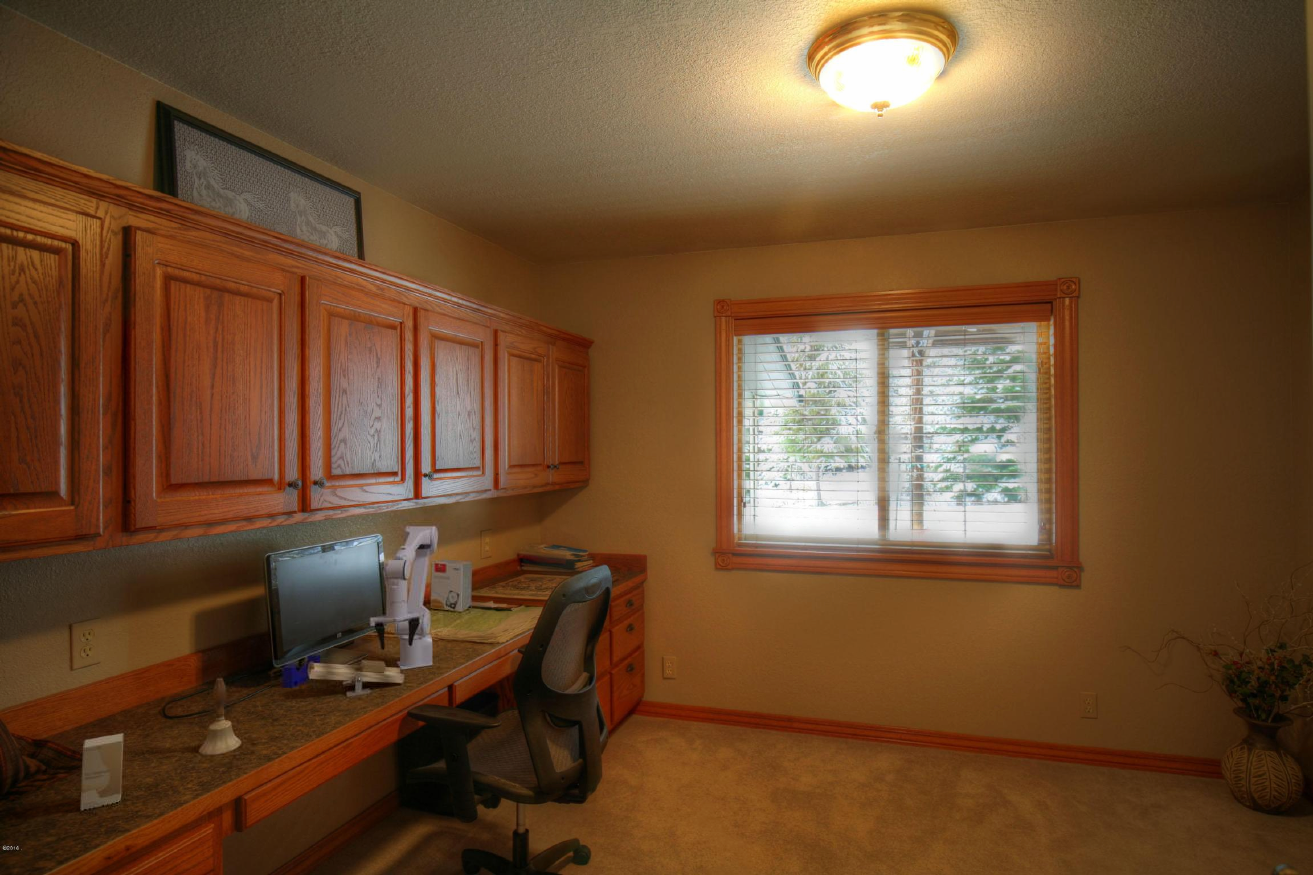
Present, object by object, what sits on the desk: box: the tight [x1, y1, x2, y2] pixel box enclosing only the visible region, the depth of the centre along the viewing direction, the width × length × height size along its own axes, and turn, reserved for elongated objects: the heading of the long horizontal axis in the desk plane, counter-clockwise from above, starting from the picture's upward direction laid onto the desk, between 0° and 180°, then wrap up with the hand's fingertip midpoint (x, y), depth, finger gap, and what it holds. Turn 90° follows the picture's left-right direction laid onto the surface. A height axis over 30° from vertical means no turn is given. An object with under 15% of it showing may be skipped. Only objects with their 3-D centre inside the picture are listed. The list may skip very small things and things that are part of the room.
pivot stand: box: [342, 675, 371, 698], centre depth 198 cm, size 6×11×5 cm, turn 30°
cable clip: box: [282, 653, 321, 689], centre depth 205 cm, size 12×4×6 cm, turn 169°
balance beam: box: [308, 662, 406, 684], centre depth 198 cm, size 25×7×3 cm, turn 120°
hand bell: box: [198, 677, 242, 756], centre depth 160 cm, size 8×8×16 cm
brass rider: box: [359, 659, 387, 673], centre depth 200 cm, size 6×4×3 cm
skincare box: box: [79, 732, 125, 811], centre depth 136 cm, size 6×4×12 cm
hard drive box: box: [430, 559, 473, 611], centre depth 290 cm, size 16×8×20 cm, turn 72°
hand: (396, 646), depth 203 cm, fingers open, 7 cm apart
